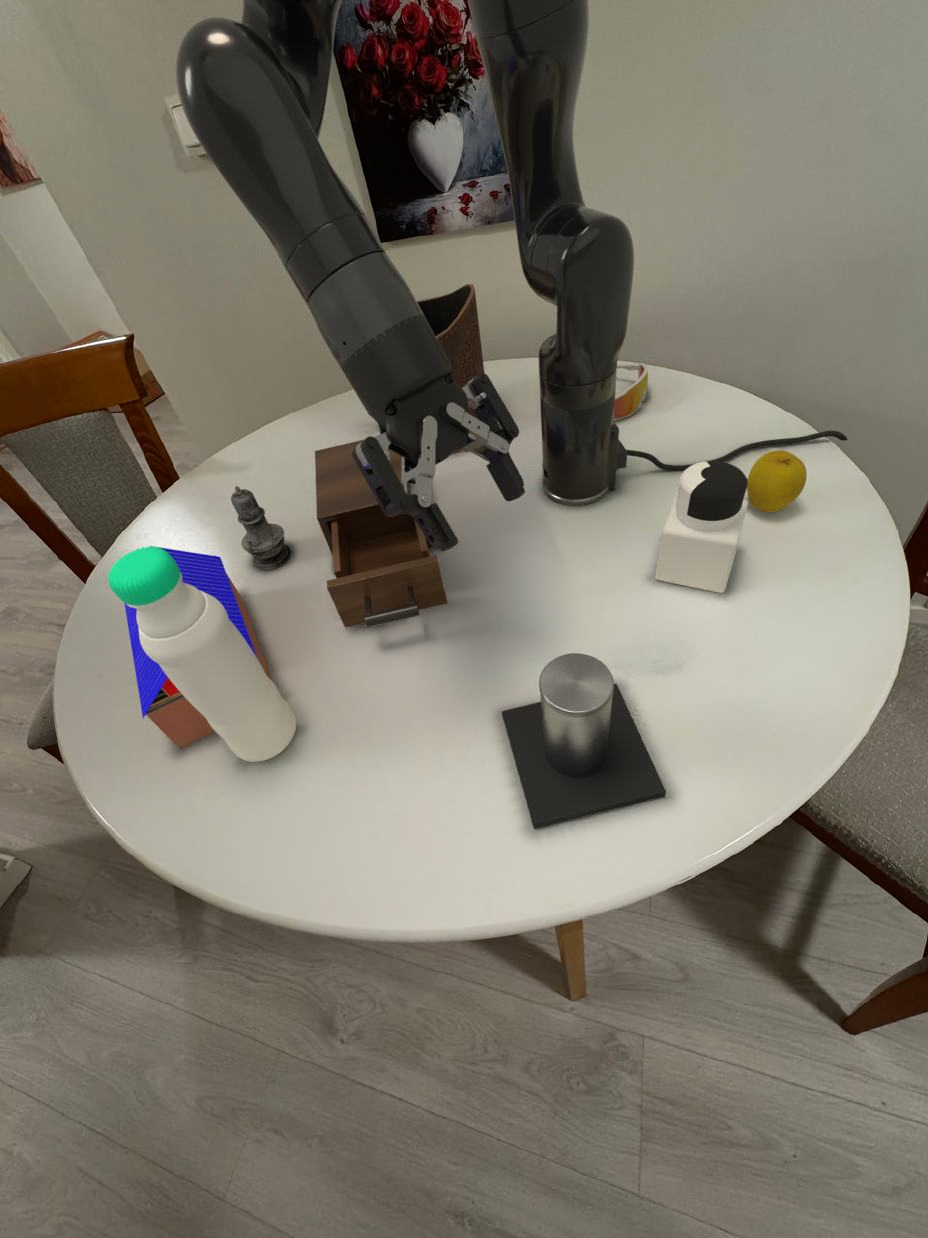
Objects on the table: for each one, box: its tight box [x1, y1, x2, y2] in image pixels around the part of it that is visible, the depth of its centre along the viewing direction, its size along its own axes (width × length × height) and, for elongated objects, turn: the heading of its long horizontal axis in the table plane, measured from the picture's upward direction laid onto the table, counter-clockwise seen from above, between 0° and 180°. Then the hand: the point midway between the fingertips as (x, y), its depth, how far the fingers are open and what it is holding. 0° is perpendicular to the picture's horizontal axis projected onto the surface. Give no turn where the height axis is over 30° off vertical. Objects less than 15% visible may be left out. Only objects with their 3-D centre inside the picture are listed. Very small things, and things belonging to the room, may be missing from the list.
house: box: [123, 545, 274, 749], centre depth 65 cm, size 12×20×12 cm, turn 28°
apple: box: [746, 449, 808, 513], centre depth 71 cm, size 6×6×8 cm
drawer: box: [326, 509, 449, 628], centre depth 70 cm, size 19×13×7 cm
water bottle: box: [107, 546, 297, 763], centre depth 53 cm, size 7×7×25 cm
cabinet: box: [314, 439, 434, 557], centre depth 80 cm, size 16×14×9 cm
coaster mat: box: [501, 683, 667, 830], centre depth 55 cm, size 12×12×1 cm
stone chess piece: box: [230, 485, 292, 571], centre depth 77 cm, size 6×6×12 cm
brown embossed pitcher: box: [416, 283, 498, 454], centre depth 90 cm, size 18×24×25 cm
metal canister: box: [538, 652, 615, 777], centre depth 51 cm, size 6×6×11 cm
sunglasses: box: [614, 362, 649, 421], centre depth 96 cm, size 14×15×5 cm
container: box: [654, 460, 749, 594], centre depth 65 cm, size 8×8×13 cm
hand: (484, 521), depth 49 cm, fingers open, 8 cm apart
